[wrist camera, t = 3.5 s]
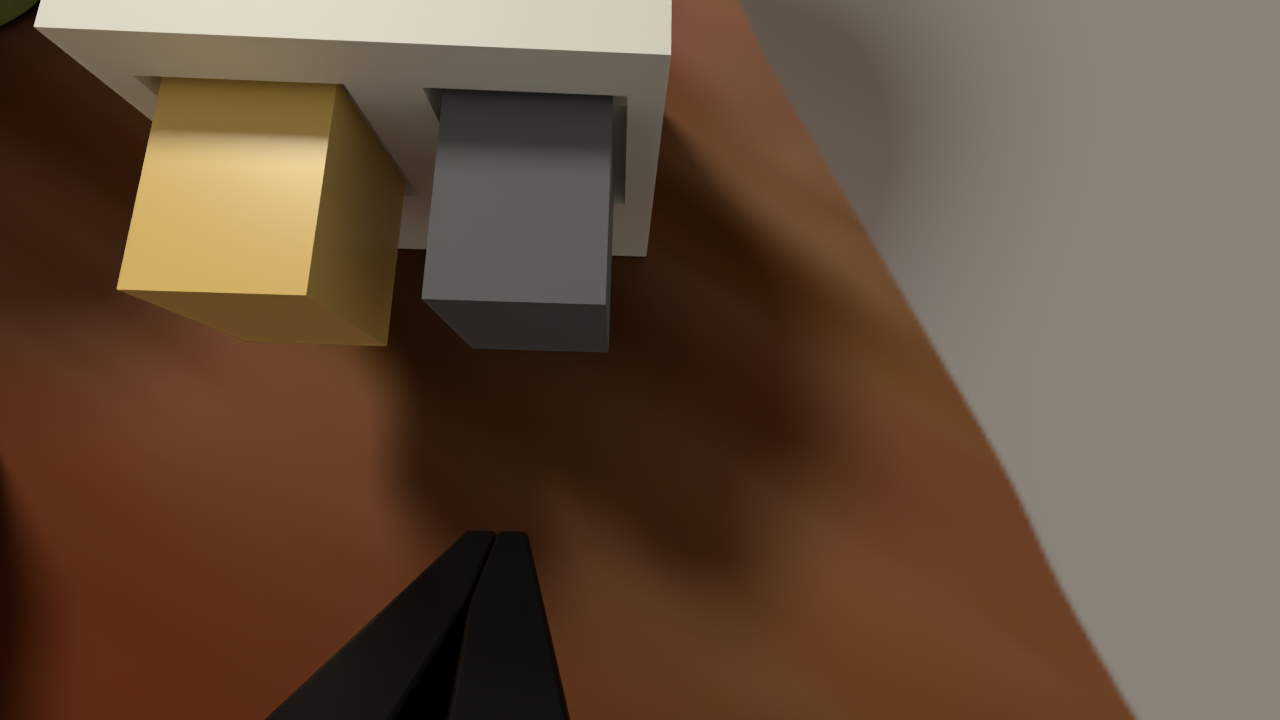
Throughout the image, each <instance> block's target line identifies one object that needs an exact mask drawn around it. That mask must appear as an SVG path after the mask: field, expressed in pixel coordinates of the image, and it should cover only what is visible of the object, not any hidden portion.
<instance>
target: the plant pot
mask: <svg viewBox="0 0 1280 720" xmlns="http://www.w3.org/2000/svg"><path fill="white" fill-rule="evenodd" d="M37 1H38V0H0V26H1V25H3V24H6V23H7V22H9V21H11V20H13V19H15V18H16V17H18V16H20V15H21V14H23V13H24V12H26V11H27V10H29V9H30V8H31V7H32V6H33V5H34V4H35V3H36V2H37Z"/></svg>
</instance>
